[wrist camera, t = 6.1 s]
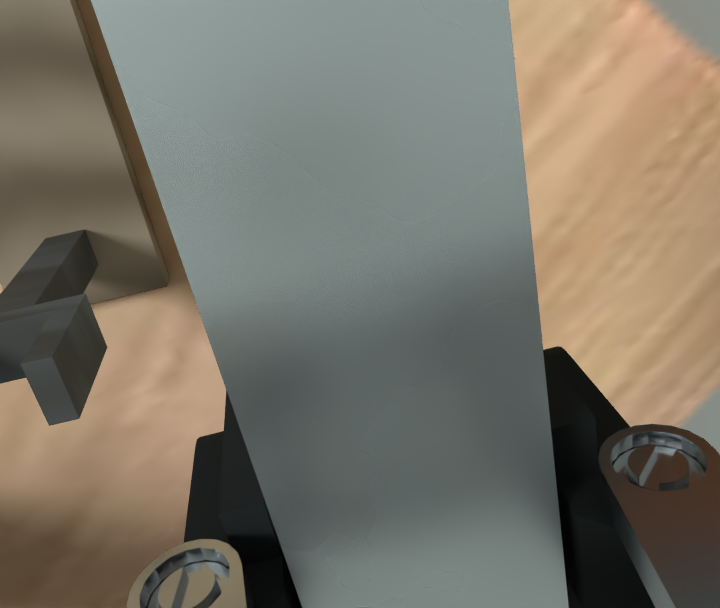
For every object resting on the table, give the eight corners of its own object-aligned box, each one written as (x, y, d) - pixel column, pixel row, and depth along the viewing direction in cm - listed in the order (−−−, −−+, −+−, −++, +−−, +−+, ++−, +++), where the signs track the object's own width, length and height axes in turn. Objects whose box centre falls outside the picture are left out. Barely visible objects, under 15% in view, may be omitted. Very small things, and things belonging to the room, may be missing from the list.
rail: (548, 835, 16) (608, 1009, 13) (422, 870, 16) (457, 1053, 13) (297, -831, 5) (341, -1654, 3) (-88, -760, 5) (-446, -1540, 3)
